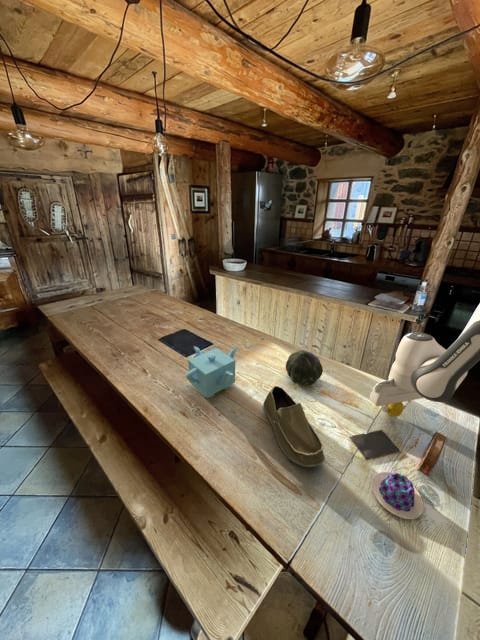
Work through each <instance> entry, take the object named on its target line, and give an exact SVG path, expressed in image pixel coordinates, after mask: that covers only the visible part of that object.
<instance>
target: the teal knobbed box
mask: <svg viewBox="0 0 480 640" xmlns="http://www.w3.org/2000/svg"><path fill="white" fill-rule="evenodd" d="M193 350H194V351H195V355H196V356H194V357H191V358H190V359H188V360H187V365H188V372H186V374H185V378H186V380H187V381H189V383H190V384H191V385H192V386H193V387H194V388H195V389H197V391H198V392H200V394H202V395H203V396H204V397H205V398H213V397H214V396H215V394H217V393H219V392H220V391H222V390H227V389H229V387H230V386H231V385H233V384H235V383H236V360H235V359H234V358H235V354H236V352H237V351H238V350H239V347H237V346H236V347H234V348H232V349H231V350H230V351H229V354H227V353H225V352H224V351H222V350H221V349H220V348H218V347H216V348H213V349H211V350H209V351H206V352H204V353H202V351H201V349H200V348H199V347H198V346H196V345H193Z"/></svg>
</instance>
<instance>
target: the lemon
mask: <svg viewBox="0 0 480 640" xmlns="http://www.w3.org/2000/svg"><path fill="white" fill-rule="evenodd" d="M388 407H389V408H390V409H389V412H385V413H386V415H388V416H389V417H392V418H397V417H400V416H401V415H402V414H403V412H404V409H403V403H402V402H399V403H393V404H389V405H388Z"/></svg>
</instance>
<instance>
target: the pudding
mask: <svg viewBox="0 0 480 640" xmlns="http://www.w3.org/2000/svg"><path fill="white" fill-rule="evenodd" d="M371 490H372V492H373V495H374V497H375V499H376V500H377V501H378V502H379V504H380V505H381V506H382V507H383V508H384V509H385V510H386V511H388V512H389V513H391V514H392V515H394V516H396V517H399V518H401V519H404V520H405V519H406V520H414V519H417V518H419V517H420V516H421V515H422V514H423V512H424V501H423V499H422V495H421V494H420V493H419V491H418V489H417V488H416V487H415V486H414V484H413V482H412V481H411V480H409V479H408V477H407V476H406V475H404V474H400V473H399V472H390V471H381V472H378V473H376V474H375V475H374V476H373V477H372V479H371Z"/></svg>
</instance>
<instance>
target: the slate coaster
mask: <svg viewBox="0 0 480 640" xmlns="http://www.w3.org/2000/svg"><path fill="white" fill-rule="evenodd" d="M349 438H350V440H351V442H353V444H354V445H355V447H356V449H358V451H359V452H360V454H361V455H362V456H363V458H364V459H365V460H368V459H372V458H377V457H381V456H385V455H390V454H394V453H399V452H401V451H400V450H401V449H400V448H399V447H398V446H397V445H396V444H395V442H393V441H392V439H391V438H390V437H389V436H388V435H387V434H386V432H385V431H384V430H383V429H379V430H373V431H369V432H364V433H358V434H354V435H350V436H349Z"/></svg>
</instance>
